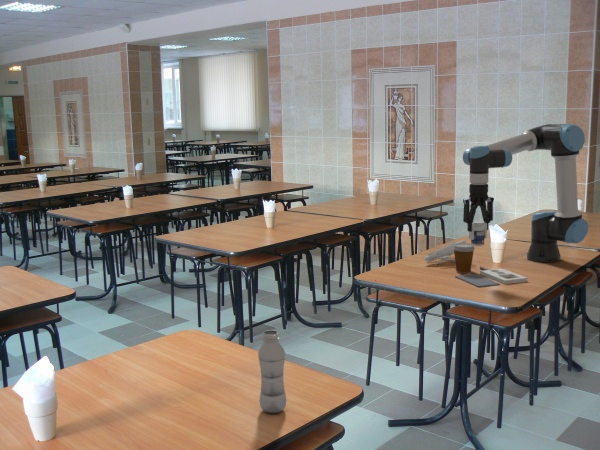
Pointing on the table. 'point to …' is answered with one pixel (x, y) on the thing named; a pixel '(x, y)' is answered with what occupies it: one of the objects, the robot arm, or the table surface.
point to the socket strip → (502, 275)
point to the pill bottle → (478, 234)
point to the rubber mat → (477, 280)
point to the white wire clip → (442, 253)
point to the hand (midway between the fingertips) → (477, 238)
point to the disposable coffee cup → (463, 257)
